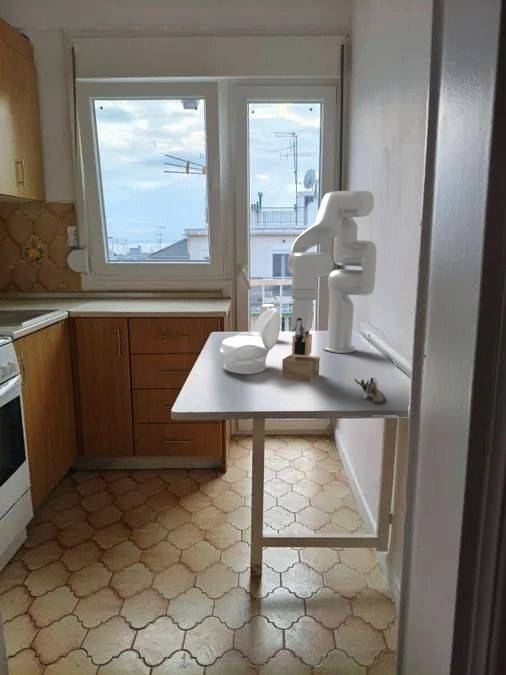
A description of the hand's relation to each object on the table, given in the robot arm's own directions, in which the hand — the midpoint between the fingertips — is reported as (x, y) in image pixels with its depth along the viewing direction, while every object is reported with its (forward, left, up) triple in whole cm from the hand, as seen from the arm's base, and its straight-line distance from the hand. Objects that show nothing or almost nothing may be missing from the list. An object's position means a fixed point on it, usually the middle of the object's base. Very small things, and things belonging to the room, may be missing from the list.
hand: (301, 351), depth 140 cm
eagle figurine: (+14, +23, -8) cm, 28 cm away
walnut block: (0, 0, -8) cm, 8 cm away
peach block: (0, 0, -1) cm, 1 cm away
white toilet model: (-3, -18, -8) cm, 20 cm away
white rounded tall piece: (-48, -26, -8) cm, 55 cm away
